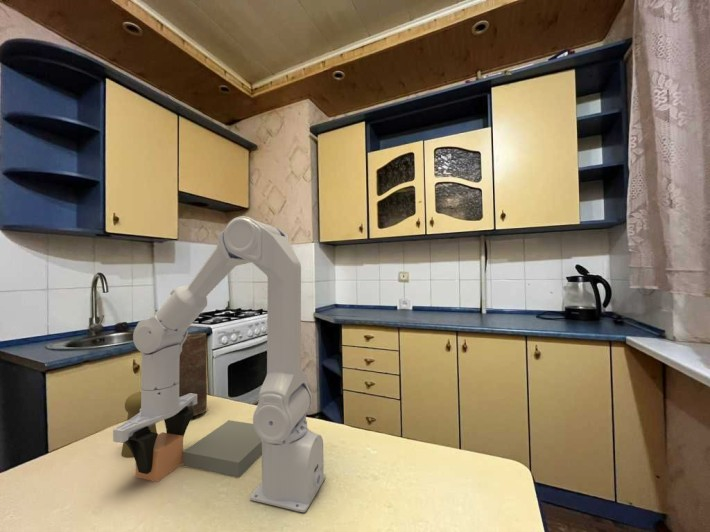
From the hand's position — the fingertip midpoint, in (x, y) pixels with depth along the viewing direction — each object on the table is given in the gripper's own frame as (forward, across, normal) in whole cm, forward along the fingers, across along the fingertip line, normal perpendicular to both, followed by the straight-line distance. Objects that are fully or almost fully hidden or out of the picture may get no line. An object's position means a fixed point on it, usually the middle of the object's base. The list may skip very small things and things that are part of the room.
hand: (160, 461), depth 52 cm
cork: (+2, -4, -10) cm, 11 cm away
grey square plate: (+2, -8, +9) cm, 12 cm away
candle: (+2, -18, -12) cm, 22 cm away
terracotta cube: (+1, 0, 0) cm, 1 cm away
